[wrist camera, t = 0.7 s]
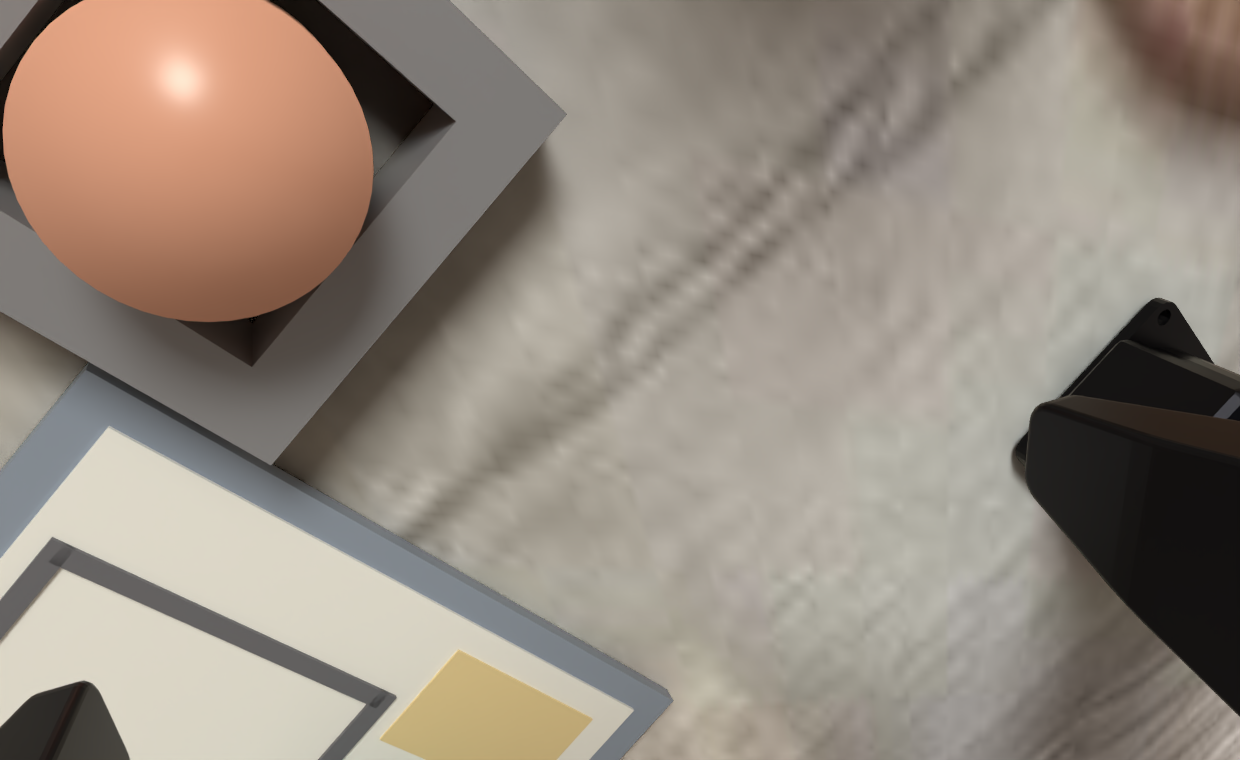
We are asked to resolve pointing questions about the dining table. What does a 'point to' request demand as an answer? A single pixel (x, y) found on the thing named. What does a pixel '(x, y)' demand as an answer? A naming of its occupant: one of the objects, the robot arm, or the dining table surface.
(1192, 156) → the dining table surface
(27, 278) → the button housing
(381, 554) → the drawing board
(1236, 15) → the dining table surface
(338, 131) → the button
